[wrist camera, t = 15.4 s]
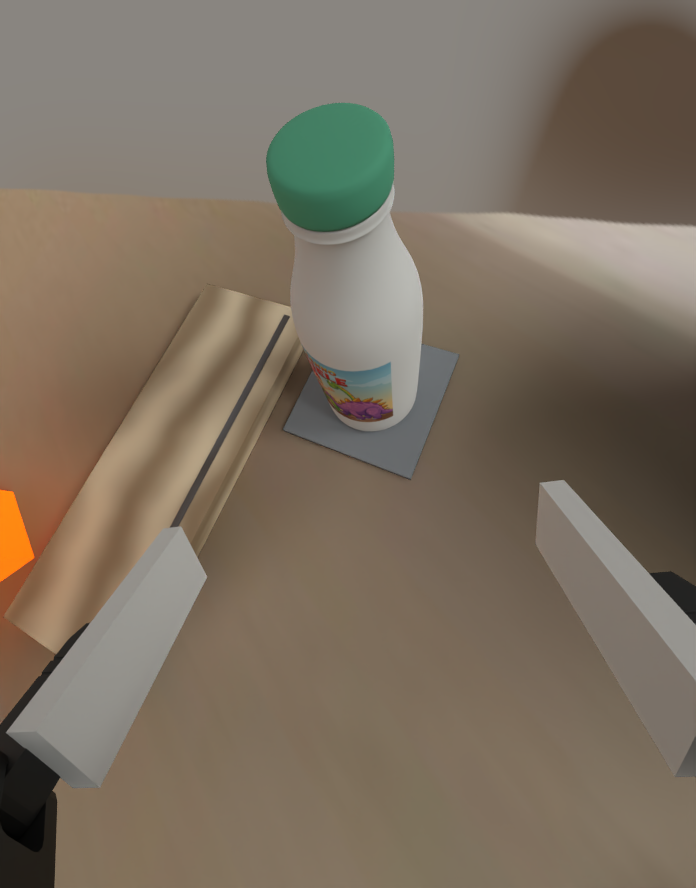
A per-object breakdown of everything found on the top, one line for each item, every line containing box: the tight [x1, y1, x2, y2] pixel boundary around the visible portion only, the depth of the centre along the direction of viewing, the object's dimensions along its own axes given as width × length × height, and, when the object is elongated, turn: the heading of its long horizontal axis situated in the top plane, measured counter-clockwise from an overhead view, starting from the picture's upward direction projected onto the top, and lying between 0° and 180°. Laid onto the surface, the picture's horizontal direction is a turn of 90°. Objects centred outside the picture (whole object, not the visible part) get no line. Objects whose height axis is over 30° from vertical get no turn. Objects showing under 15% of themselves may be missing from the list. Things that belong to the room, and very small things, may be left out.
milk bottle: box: [266, 103, 423, 431], centre depth 21 cm, size 8×8×20 cm
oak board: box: [3, 284, 303, 654], centre depth 31 cm, size 12×34×2 cm, turn 156°
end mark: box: [283, 344, 459, 480], centre depth 31 cm, size 12×12×1 cm
